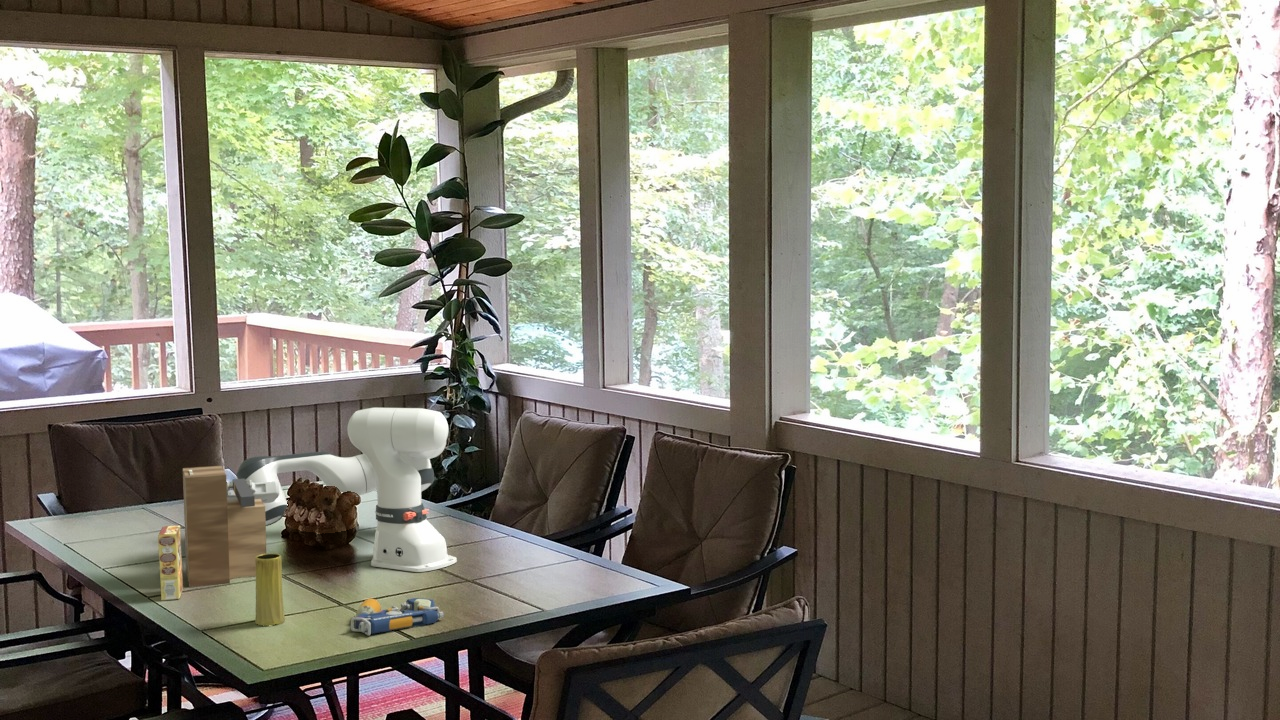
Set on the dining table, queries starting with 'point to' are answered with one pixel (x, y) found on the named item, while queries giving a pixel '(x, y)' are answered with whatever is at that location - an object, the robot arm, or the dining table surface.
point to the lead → (243, 493)
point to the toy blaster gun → (395, 616)
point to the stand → (219, 529)
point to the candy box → (170, 562)
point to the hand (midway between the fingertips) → (239, 483)
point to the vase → (269, 589)
